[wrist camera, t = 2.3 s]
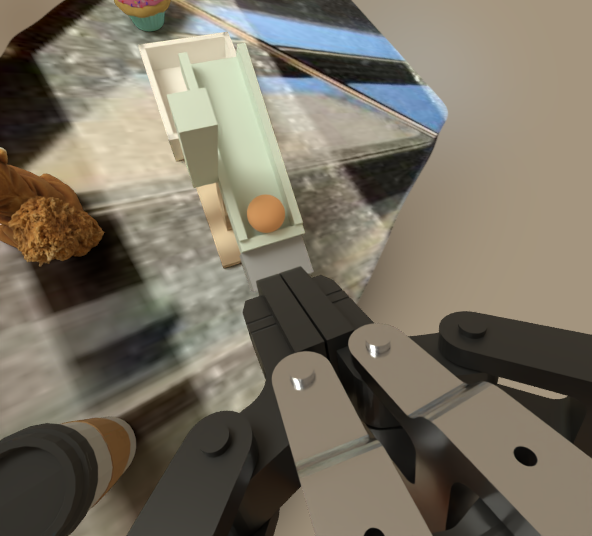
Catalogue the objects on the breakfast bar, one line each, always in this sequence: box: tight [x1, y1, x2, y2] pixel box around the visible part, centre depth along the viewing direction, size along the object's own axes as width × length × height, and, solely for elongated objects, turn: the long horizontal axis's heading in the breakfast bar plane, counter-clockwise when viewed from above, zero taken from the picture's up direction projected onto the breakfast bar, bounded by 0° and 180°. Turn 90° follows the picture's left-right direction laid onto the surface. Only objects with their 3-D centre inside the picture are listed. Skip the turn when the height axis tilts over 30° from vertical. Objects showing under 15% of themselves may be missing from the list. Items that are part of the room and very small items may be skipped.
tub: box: [138, 32, 237, 161], centre depth 49 cm, size 16×13×4 cm
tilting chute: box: [167, 43, 314, 292], centre depth 29 cm, size 23×10×16 cm, turn 21°
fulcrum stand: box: [196, 183, 241, 268], centre depth 41 cm, size 12×10×11 cm
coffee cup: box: [0, 417, 136, 536], centre depth 29 cm, size 8×8×15 cm
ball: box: [247, 194, 285, 233], centre depth 32 cm, size 4×4×4 cm
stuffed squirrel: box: [0, 148, 105, 267], centre depth 36 cm, size 10×14×13 cm
